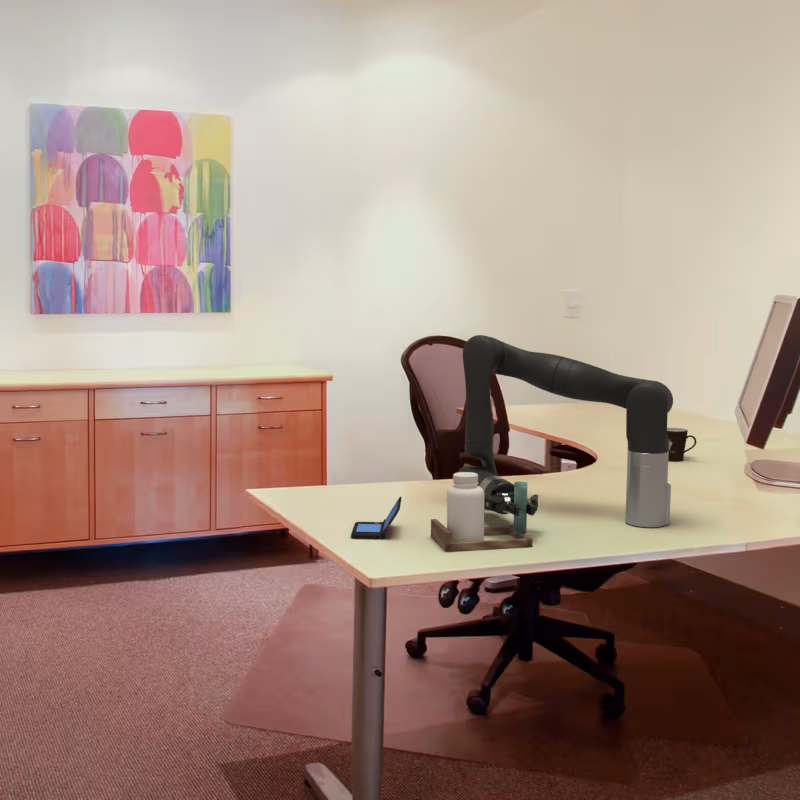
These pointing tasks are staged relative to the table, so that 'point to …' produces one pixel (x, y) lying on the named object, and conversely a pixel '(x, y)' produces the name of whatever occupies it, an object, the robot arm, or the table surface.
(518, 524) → the brown wooden frame
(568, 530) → the table surface
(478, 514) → the pill bottle
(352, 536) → the handheld game console
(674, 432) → the coffee mug
